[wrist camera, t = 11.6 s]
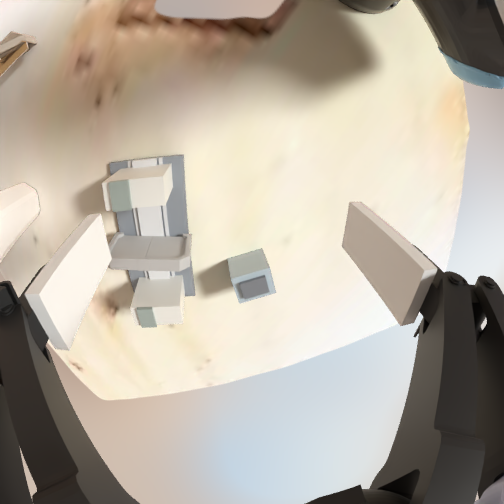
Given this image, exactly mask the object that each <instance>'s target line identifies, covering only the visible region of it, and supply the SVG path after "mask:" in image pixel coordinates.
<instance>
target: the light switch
mask: <svg viewBox="0 0 504 504" xmlns="http://www.w3.org/2000/svg"><path fill="white" fill-rule="evenodd" d="M191 242H192V234H183V237H170V236H126V235H124V232H116V233H115V235H114V236H113V238H112V240H111V241H110V243H109V244H108V246H109V250H110V254H111V258H112V260H111V261H110V263H109V265H108V267H109V268H110V269H117V270H138V271H175V272H180V271H182V270H184V269H186V268H188V267H190V257H191Z"/></svg>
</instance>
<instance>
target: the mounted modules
mask: <svg viewBox="0 0 504 504" xmlns="http://www.w3.org/2000/svg"><path fill="white" fill-rule="evenodd" d="M172 188H173V179H172V163H169V164H162V165H159V164H158V165H156V166H148V167H138V168H122V169H120V170H118V171H117V172H116V173H114V174H113V175H112V176H110V177H109V178H108V179H106V180H105V181H104V182H103V183H102V189H103V195H104V201H105V207H106V211H110V210H113V212H117V211H127V210H132V209H133V208H140V207H152V206H164V205H166V203H167V201H168V198H169V196H170V193H171V191H172ZM184 298H185V289H184V282H183V275H176V276H175V277H172V276H170V279H151V280H150V278H146V277H139V280H138V283H137V286H136V290H135V293H134V296H133V300H132V303H131V307H130V309H131V312H132V316H133V319H134V322H135V325H141V326H142V328H145V327H157V325H164V324H183V317H184Z"/></svg>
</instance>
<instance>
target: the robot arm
mask: <svg viewBox="0 0 504 504" xmlns="http://www.w3.org/2000/svg"><path fill="white" fill-rule="evenodd" d="M339 1H341V2H342V3H344V4H346V5H347V6H349V7H351V8H353V9H356V10H358V11H361V12H365V13H373V14H376V13H382V12H385V11H387V10H390V9H392V8H393V7H395V6H396V5H397V4H398V2H399V1H400V0H339ZM413 2H414V3H415V5H416V7H417V8H418V10H419V11H420V13H421V15H422V16H423V18H424V20H425V22H426V23H427V25H428V27H429V29H430V30H431V32H432V34H433V36H434V38H435V40H436V42H437V44H438V48H439V50H440V52H441V53H442V54H443V55H444V57H445V59H446V61H447V63H448V65H449V68H450V69H451V71H452V72H453V73H454V74H455V75H456V76H458V77H459V78H460V79H462V80H463V81H466V82H468V83H471V84H474V85H478V86H482V87H488V88H497V89H502V88H503V87H504V0H413ZM342 247H343V248H344V250H345V251H346V252H347V253H348V255H349V256H350V257H351V259H352V260H353V261H354V262H355V264H356V265H357V266H358V268H359V269H360V270H361V272H362V273H363V274H364V275H365V277H366V278H367V279H368V281H369V282H370V284H371V285H372V286H373V288H374V289H375V290H376V292H377V293H378V294H379V296H380V297H381V299H382V300H383V301H384V303H385V304H386V306H387V307H388V308H389V310H390V311H391V313H392V314H393V316H394V317H395V318H396V320H397V321H398V323H399V324H400V326H403V325H406V324H411V323H414V321H415V319H416V317H417V315H418V313H419V312H420V313H421V314H422V315H423V319H422V321H421V323H420V325H419V327H418V329H417V331H416V332H415V334H414V337H416V336H417V334H419V339H418V345H417V351H416V358H415V363H414V368H413V373H412V378H411V383H410V387H409V391H408V396H407V399H406V403H405V407H404V411H403V414H402V418H401V422H400V424H399V428H398V431H397V434H396V437H395V440H394V443H393V446H392V449H391V451H390V454H389V457H388V459H387V461H386V463H385V465H384V466H383V468H382V469H381V470H380V471H379V473H378V474H377V476H376V477H375V479H374V480H373V482H372V485H371V486H370V488H369V489H362V488H361V485H358V486H355V487H353V488H350V489H347V490H344V491H340V492H337V493H333V494H330V495H326V496H323V497H319V498H317V499H315V500H312V501H310V502H308V503H306V504H504V295H503V293H502V291H501V289H500V288H499V286H498V285H497V283H496V282H495V281H494V280H493V279H492V278H490V277H486V276H480V277H478V279H477V282H476V284H475V285H469V284H468V283H467V281H466V280H465V279H464V278H463V277H462V276H460V275H458V274H457V273H454V272H450V271H449V272H445V273H444V272H443V271H442V270H441V269H440V268H439V267H437V266H436V265H435V264H434V263H433V262H432V261H431V260H430V259H429V258H428V257H427V256H426V255H425V254H423V252H422V251H420V250H419V249H418V248H417V247H416V246H414V245H413V244H411V243H410V242H409V241H408V240H407V239H406V238H404V237H403V236H402V235H401V234H400V233H399V232H397V231H396V230H395V229H394V228H393V227H392V226H390V225H389V224H388V223H387V222H386V221H384V220H383V219H382V218H381V217H380V216H378V215H377V214H376V213H375V212H373V211H372V210H371V209H370V208H368V207H367V206H366V205H365V204H363V203H362V202H349V208H348V215H347V221H346V226H345V232H344V237H343V243H342ZM111 260H112V258H111V254H110V250H109V246H108V242H107V238H106V234H105V230H104V225H103V221H102V216H101V213H99V214H91V215H88V216H87V217H86V218H85V219H84V220H83V221H82V222H81V224H80V225H79V226H78V227H77V228H76V229H75V230H74V231H73V232H72V234H71V235H70V236H69V237H68V238H67V239H66V240H65V242H64V243H63V244H62V245H61V246H60V248H59V249H58V250H57V251H56V252H55V254H54V255H53V256H52V257H51V259H50V260H49V261H48V262H47V264H45V265H44V266H43V267H42V268H40V270H39V271H38V272H37V274H36V275H35V277H34V278H33V279H32V280H31V283H29V285H28V286H27V287H26V289H25V290H24V292H23V293H22V294H21V296H20V297H19V298H18V296H17V294H16V292H15V290H14V288H13V286H12V284H11V282H10V281H3V282H0V504H140V503H138V502H137V501H136V500H135V499H133V498H132V497H131V496H130V495H129V494H128V493H127V492H126V491H125V490H124V489H123V487H122V486H121V485H120V484H119V482H118V481H117V479H116V478H115V477H114V475H113V474H112V473H111V471H110V470H109V468H108V467H107V465H106V464H105V462H104V461H103V459H102V458H101V456H100V455H99V453H98V452H97V450H96V449H95V447H94V445H93V444H92V442H91V440H90V439H89V437H88V435H87V433H86V432H85V430H84V428H83V426H82V424H81V422H80V421H79V419H78V417H77V415H76V413H75V411H74V409H73V407H72V405H71V403H70V401H69V398H68V396H67V394H66V392H65V390H64V387H63V385H62V383H61V380H60V378H59V375H58V373H57V371H56V368H55V365H54V363H53V360H52V357H51V354H50V352H49V350H48V349H47V347H46V343H47V341H48V339H49V340H50V341H51V343H52V345H53V346H54V348H55V349H61V350H70V348H71V346H72V343H73V341H74V338H75V336H76V333H77V331H78V328H79V326H80V324H81V321H82V319H83V317H84V315H85V312H86V310H87V308H88V306H89V304H90V301H91V299H92V297H93V295H94V293H95V291H96V289H97V287H98V285H99V283H100V281H101V279H102V277H103V275H104V273H105V271H106V269H107V267H108V265H109V263H110V261H111ZM485 317H486V318H487V324H486V326H485V328H484V329H483V330H482V329H481V324H482V323H483V321H484V319H485ZM19 445H20V447H19ZM20 448H21V451H22V454H23V456H24V459H25V461H26V464H27V466H28V468H29V471H30V473H31V475H32V477H33V480H34V482H35V484H36V487H37V492H36V493H35V494H34V495H33V496H32V497H33V498H32V499H33V502H32V499H31V496H30V492H29V489H28V485H27V481H26V477H25V473H24V468H23V463H22V458H21V453H20ZM477 491H478V496H479V500H477V501H475V498H476V495H477Z"/></svg>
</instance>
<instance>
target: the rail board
mask: <svg viewBox="0 0 504 504" xmlns="http://www.w3.org/2000/svg"><path fill="white" fill-rule="evenodd" d="M169 163H172V179H173V188H172V191H171V193H170V196H169V198H168V201H167V203H166V205H164V206H152V207H140V208H133V209H132V210H127V211H117V212H116V214H117V220H118V225H119V230H120V232H124V235H126V236H170V237H183V234H189V231H188V219H187V206H186V191H185V174H184V155H172V156H161V157H151V158H142V159H133V160H125V161H118V162H111V163H110V173H111V176H112V175H113V174H114V173H116V172H117V171H118V170H120V169H122V168H138V167H148V166H156V165H158V164H159V165H162V164H169ZM128 271H129V275H130V279H131V283H132V287H133V291H134V293H135V290H136V286H137V283H138V280H139V277H146V278H150V280H151V279H170V276H172V277H175V276H176V275H183V282H184V289H185V296H195V288H194V279H193V271H192V262H191V257H190V267H188V268H186V269H184V270H182V271H180V272H175V271H138V270H128Z"/></svg>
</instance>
